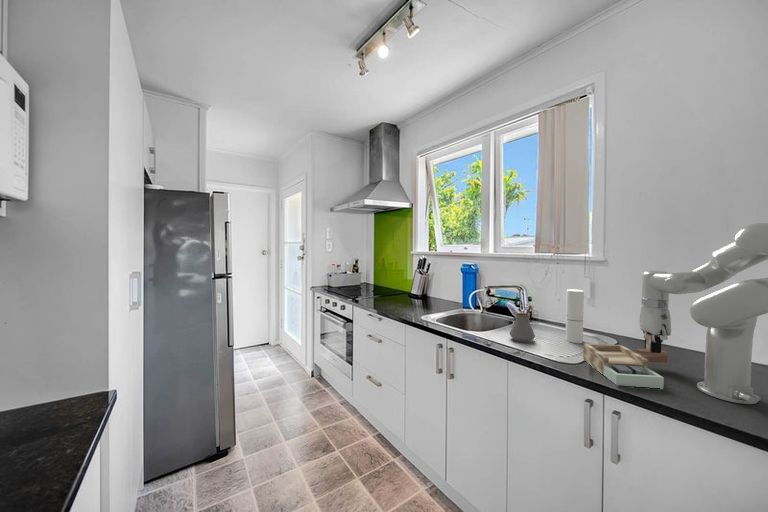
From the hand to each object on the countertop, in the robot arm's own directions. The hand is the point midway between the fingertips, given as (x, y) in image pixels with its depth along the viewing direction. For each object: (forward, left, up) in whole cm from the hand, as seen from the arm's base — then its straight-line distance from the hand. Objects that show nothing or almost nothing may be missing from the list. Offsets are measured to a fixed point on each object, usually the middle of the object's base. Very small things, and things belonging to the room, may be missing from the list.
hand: (652, 350), depth 113 cm
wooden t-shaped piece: (0, 0, -4) cm, 4 cm away
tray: (-14, +15, -7) cm, 22 cm away
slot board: (-3, +15, -7) cm, 17 cm away
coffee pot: (+32, +37, -7) cm, 49 cm away
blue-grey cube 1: (-11, +12, -4) cm, 17 cm away
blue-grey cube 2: (-11, +18, -4) cm, 21 cm away
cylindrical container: (+30, +15, -7) cm, 34 cm away
